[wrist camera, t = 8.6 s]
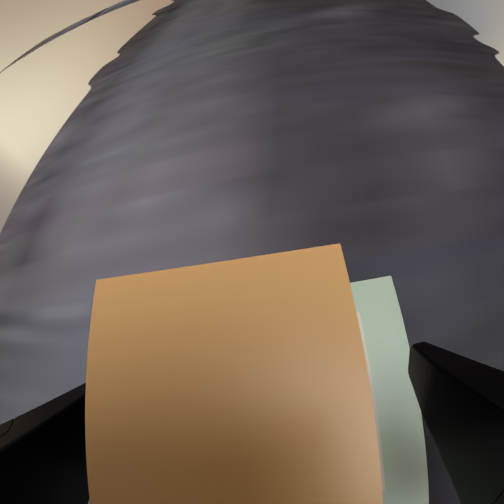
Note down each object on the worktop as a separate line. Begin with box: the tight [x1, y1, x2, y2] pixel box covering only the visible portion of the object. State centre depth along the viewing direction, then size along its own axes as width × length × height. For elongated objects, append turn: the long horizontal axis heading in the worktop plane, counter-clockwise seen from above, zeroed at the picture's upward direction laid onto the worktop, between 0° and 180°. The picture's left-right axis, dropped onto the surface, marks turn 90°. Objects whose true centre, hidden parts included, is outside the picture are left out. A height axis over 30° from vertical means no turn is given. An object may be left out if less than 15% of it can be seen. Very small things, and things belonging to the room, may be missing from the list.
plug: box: [85, 244, 383, 504], centre depth 9 cm, size 5×4×11 cm
